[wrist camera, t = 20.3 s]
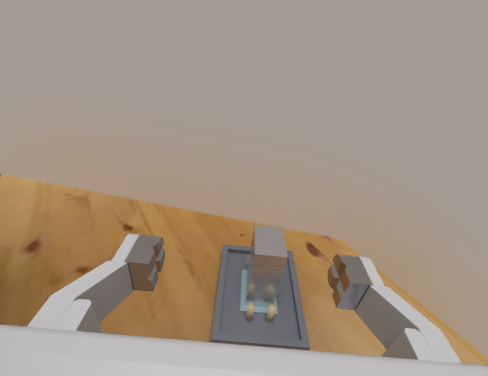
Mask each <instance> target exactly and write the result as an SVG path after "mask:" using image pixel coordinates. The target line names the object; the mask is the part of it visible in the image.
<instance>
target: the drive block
mask: <svg viewBox="0 0 488 376" xmlns="http://www.w3.org/2000/svg"><path fill="white" fill-rule="evenodd" d="M287 258H288V256H287V249H286V243H285V237H284V230H283V228H281V227H271V226H262V225H255V226H254V231H253V237H252V242H251V248H250V254H249V259H248V265H247V271H246V288H245V305H248V303H250V302H252V303H254V304H255V306H258V307H269V305H270V304H273V305H274V301H275V298H276V295H277V291H278V288H279V285H280V282H281V278H282V275H283V272H284V268H285V265H286V262H287Z"/></svg>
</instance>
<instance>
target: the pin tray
mask: <svg viewBox="0 0 488 376" xmlns="http://www.w3.org/2000/svg"><path fill="white" fill-rule="evenodd" d="M250 248H251V247H243V246H233V245H223V251H222V259H221V267H220V274H219V282H218V289H217V297H216V304H215V312H214V319H213V327H212V335H211V342H214V343H226V344H238V345H250V346H262V347H274V348H286V349H297V350H309V349H310V345H309V340H308V335H307V329H306V324H305V318H304V313H303V308H302V302H301V297H300V291H299V286H298V280H297V275H296V270H295V264H294V259H293V253H292V251H287V256H288V258H287V262H286V265H285V268H284V272H283V275H282V278H281V282H280V285H279V288H278V291H277V295H276V298H275V301H274V305H273V304H270V305H269V307H258V306H255V304H254V303H252V302H250V303H248V305H245V288H246V271H247V265H248V259H249V254H250Z"/></svg>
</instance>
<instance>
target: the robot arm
mask: <svg viewBox="0 0 488 376" xmlns="http://www.w3.org/2000/svg"><path fill="white" fill-rule="evenodd" d="M163 244H164V241H163V238H162V237H155V236H147V235H138V234H128V235H127V236H126V238H125V239H124V241H123V243H122V244H121V246H120V247H119V249H118V251H117V252H116V254H115V255H114V257H113V259H112V260H111V261H106V262H105V263H103V264H101V265H100V266H98V267H97V268H95V269H93V270H92V271H90V272H88V273H87V274H85V275H83V276H82V277H80V278H79V279H77V280H75V281H74V282H72V283H70V284H69V285H67V286H65V287H64V288H62V289H61V290H59V291H57V292H56V293H54V294H52V295H51V296H50V297H49V299H48V300H47V301H46V302H45V304H44V305H43V306H42V308H41V309H40V310H39V312H38V313H37V314H36V315H35V317H34V318H33V319H32V321H31V322H30V323H29V325H28V326H27V327H25V326H13V325H1V324H0V376H488V365H476V364H464V363H461V361H460V360H459V358H458V356H457V355H456V353H455V352H454V350H453V349H452V347H451V345H450V344H449V342H448V341H447V339H446V337H445V336H444V334H443V333H442V331H441V330H440V329H439V328H437V327H436V326H435V325H434V324H433V323H431V322H430V321H429V320H428V319H426V318H425V317H424V316H423V315H422V314H420V313H419V312H418V311H417V310H416V309H414V308H413V307H412V306H411V305H409V304H408V303H407V302H406V301H405V300H403V299H402V298H401V297H400V296H398V295H397V294H396V293H395V292H394V291H392V290H391V289H390V288H389V287H385V285H384V284H383V282H382V280H381V278H380V276H379V274H378V272H377V270H376V268H375V267H374V265H373V263H372V261H371V259H370V258H369V257H360V256H349V255H338V254H337V255H335V256H334V258H333V262H334V264H333V265H331V266H330V268H329V270H328V282H329V286H330V287H331V288H332V289H333V290H334V292H333V294H332V295H333V299H334V302H335V305H336V308H340V309H348V310H355V312H356V314H357V315H358V316H359V317H360V318H361V319H362V321H363V322H364V323H365V324H366V325H367V327H368V328H369V329H370V330H371V331H372V333H373V334H374V335H375V336H376V337H377V339H378V340H379V341H380V342H381V343H382V345H383V346H384V347H385V348H386V349H387V350H386V351H385V352H384V354H383V355H382V356H369V355H357V354H345V353H333V352H321V351H309V350H297V349H286V348H274V347H262V346H250V345H238V344H226V343H214V342H202V341H190V340H178V339H166V338H154V337H142V336H131V335H119V334H107V333H103V332H102V330H101V327H100V324H99V322H100V321H101V320H103V319H104V318H105V317H106V316H107V315H108V314H109V313H110V312H111V311H112V310H114V309H115V308H116V307H117V306H118V305H119V304H120V303H121V302H122V301H123V300H125V299H126V298H127V297H128V296H129V295H130V294H131V293H132V292H133V290H138V291H153V290H154V288H155V285H156V282H157V280H158V274H157V273H158V272H160V271H161V269H162V267H163V263H164V258H165V251H164V249H163V248H162V246H163Z"/></svg>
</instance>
